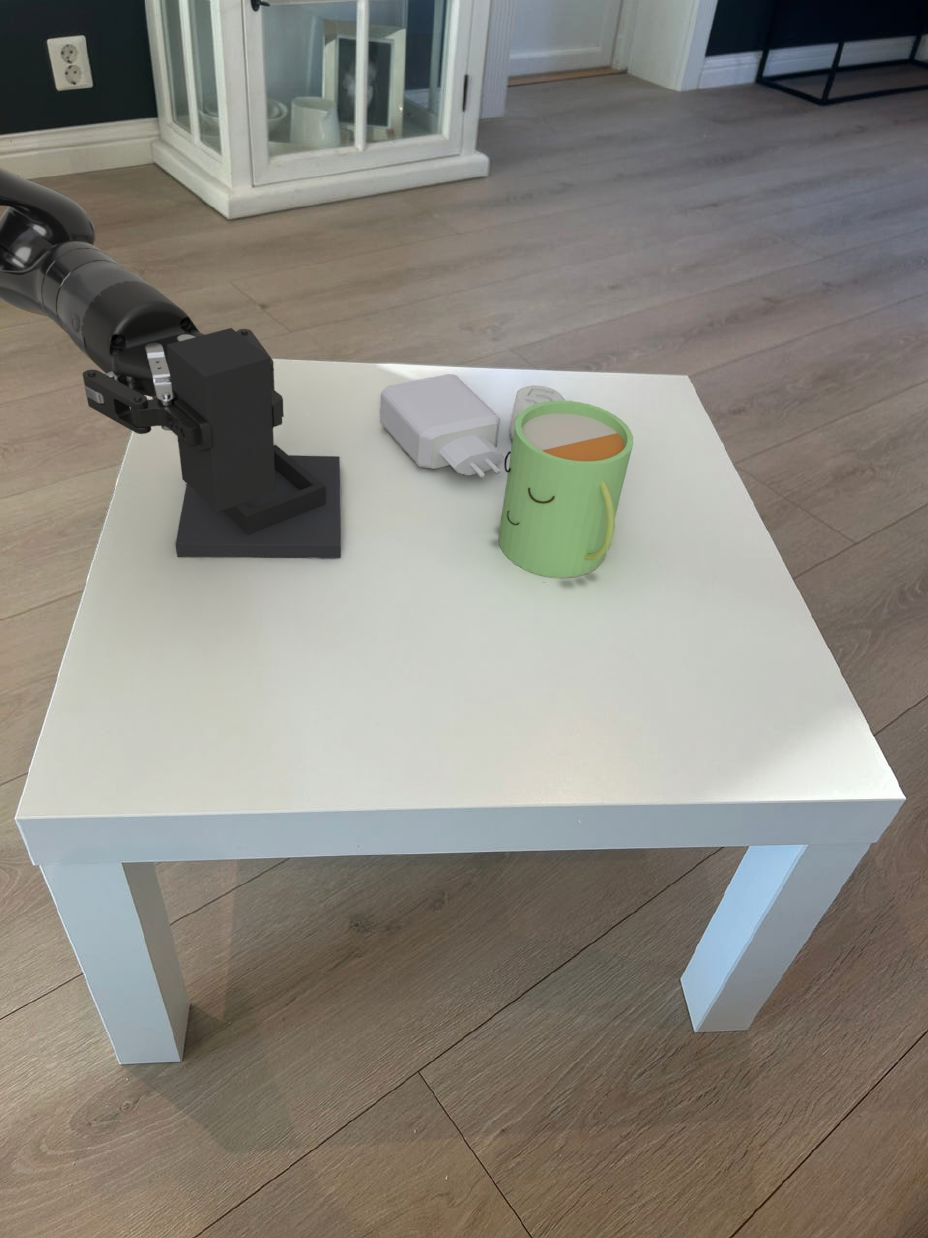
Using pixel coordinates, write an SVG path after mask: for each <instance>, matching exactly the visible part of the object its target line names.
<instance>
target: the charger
mask: <svg viewBox="0 0 928 1238" xmlns="http://www.w3.org/2000/svg"><path fill="white" fill-rule="evenodd" d="M379 422H380V424H381V425H382V426H383V427H384V428H385V430H386V431H387V432H388V433H389V434H390V435H391V436H392V437H393V439H394V440H395V441H396V442H397V443H398V445H399V446H400V447H401V448H402V449H403V451H404V452H405V453H406V454H407V455H408V457H410V458H411V460H412V461H413V462H414V463H415V464H416V465H417V467H419V468H422V469H441V468H445V467H448V466H451V467H452V468H453V470H454V471H455V472H456V473H457V474H462V475H465V476H472V475H478V476H479V477H481V478H484V477H485V476H486V474H485V472H489V471H490V470H492V471H493V472H494V473H495V474H500V473H501V470H500V468H499V467H497V465H499V464H500V463H501V462H502V461H503V460H505V456H504V455H503V454H502V453H501V452H500V450H499V449H497V446H498V442H499V441H498V440H499V434H500V433H499V432H500V425H501V417H500V416H499V415H498V414H497V413H496V412H495V411H494V410H492V408H490V406H488V405H487V403H485V402H484V400H482V399H481V398H480V397H479V396H478V395H477V394H476V393H475V392H474V391H473V390H472V389H471V388H470V387H469V386H468V385H467V384H466V383H465V382H464V381H463V379H461V378H460V377H459V376H458V375H456V374H451V373H448V374H442V375H437V376H432V377H431V376H430V377H426V378H421V379H414V380H410V381H404V382H399V383H395V384H391V385H388V386H386V387H385V388H384V389H383V390H381V392H380V400H379Z"/></svg>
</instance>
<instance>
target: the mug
mask: <svg viewBox="0 0 928 1238" xmlns="http://www.w3.org/2000/svg"><path fill="white" fill-rule="evenodd" d="M633 447H634V435H633V432H632V430H631V429H630V427H629V426H628V425H627V423H625V421H623V420H622V419H621V418H620V417H618V416H617V415H616V414H614V413H612V412H610V411H608V410H606V409H604V408H602V407H600V406H596V405H593V404H589V403H585V402H581V401H572V400H565V401H548V402H542V403H538V404H535V405H532V406H530V407H528V408H526V409H525V410H523V411H522V412H521V413H520V414H519V416H518V417H517V419H516V422H515V428H514V435H513V441H512V443H511V449H510V450H508V452H507V453H506V455H505V456H504V463H503V466H504V467H503V468H504V471H505V472H506V474H507V475H506V483H505V489H504V496H503V502H502V508H501V509H502V510H501V516H500V524H499V529H498V530H499V531H498V545H499V548H500V549H501V551H502V552H503V554H504V555H505V556H506V557H507V559H508V560H510V562H512V563H513V564H514V565H515V566H518V567H519V568H521V569H523V570H525V571H527V572H530V573H531V574H534V575H538V576H541V577H547V578H554V579H572V578H577V577H581V576H584V575H588V574H590V573H592V572H593V571H595V570H596V569H598V568H599V567H600V566H601V565H602V563H603V562H604V561H605V558H606V555H607V552H608V551H609V549H610V547H611V544H612V542H613V538H614V535H615V534H614V533H615V524H616V523H615V521H616V520H615V519H616V515H617V511H618V507H619V503H620V499H621V494H622V490H623V487H624V483H625V478H626V475H627V470H628V466H629V462H630V458H631V454H632V450H633ZM508 458H509V463H508V467H507V462H508Z"/></svg>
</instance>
